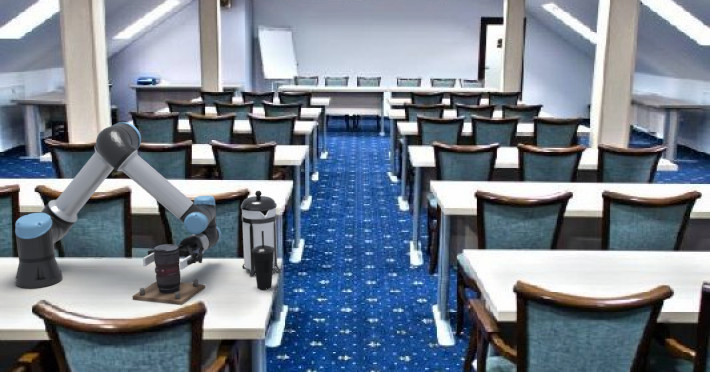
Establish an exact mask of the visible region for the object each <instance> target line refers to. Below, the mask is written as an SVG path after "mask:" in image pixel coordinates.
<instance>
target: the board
mask: <svg viewBox="0 0 710 372" xmlns="http://www.w3.org/2000/svg"><path fill="white" fill-rule="evenodd" d="M179 287H180V288H179V290H178V291H176V292H173V293H161V292H159V288H158V287H157V282H156V281H155V282H152V283H151V284H150V285H148V286H146V287H140V288H139V291H138V292H136V293H135V294H133V295H132V300H133V301H134V300H135V301H142V302H152V303H163V304H171V305H183V304H185V303H186V302H187V301H189V300H190V299H192V298H194V297H195V296H196V295H198V294H199V293H201V292H202V291H203V290H205V289H206V284H203V283H202V284H200V283H199V282H198V279H193V280H192V282H181V281H180V285H179Z"/></svg>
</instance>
